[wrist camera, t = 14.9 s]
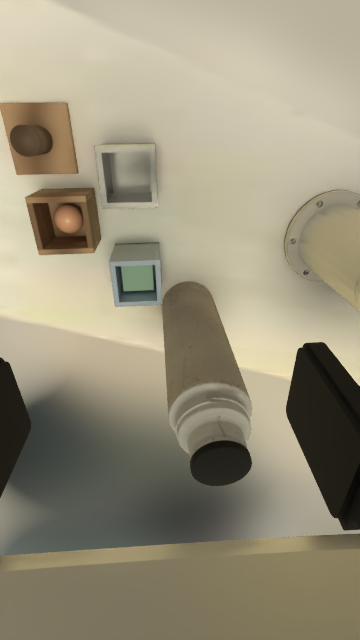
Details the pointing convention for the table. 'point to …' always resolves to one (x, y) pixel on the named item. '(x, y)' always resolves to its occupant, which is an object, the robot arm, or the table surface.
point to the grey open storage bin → (127, 175)
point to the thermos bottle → (205, 387)
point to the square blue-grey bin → (135, 257)
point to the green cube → (137, 278)
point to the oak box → (49, 234)
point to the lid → (40, 138)
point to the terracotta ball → (68, 218)
